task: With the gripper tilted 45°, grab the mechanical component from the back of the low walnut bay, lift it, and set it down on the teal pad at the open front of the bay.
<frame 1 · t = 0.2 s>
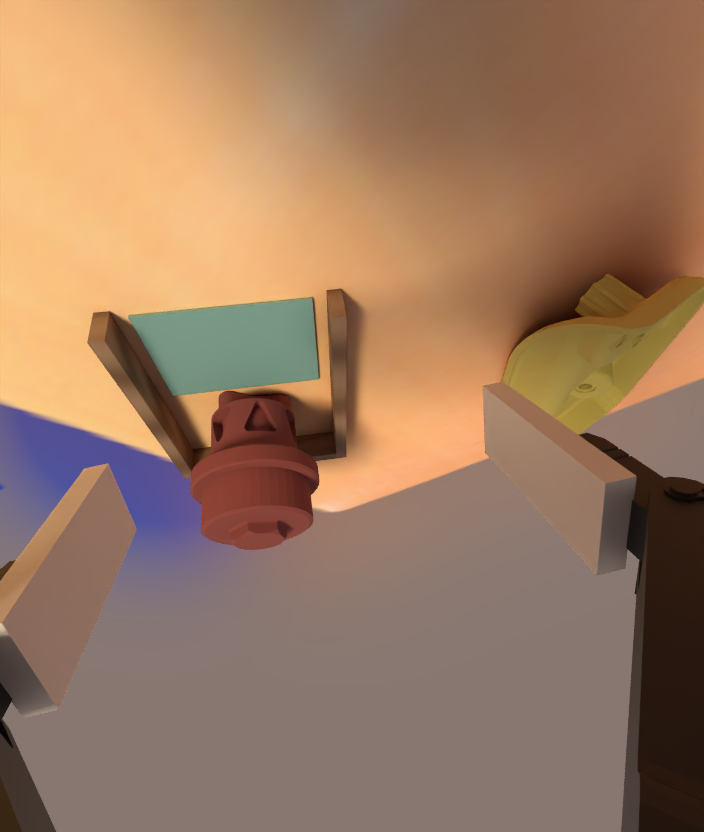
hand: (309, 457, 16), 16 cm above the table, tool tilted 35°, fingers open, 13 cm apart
mechanical component: (252, 403, 41), resting in bay
plastic component: (580, 332, 40), on the table
bay: (247, 389, 38), on the table
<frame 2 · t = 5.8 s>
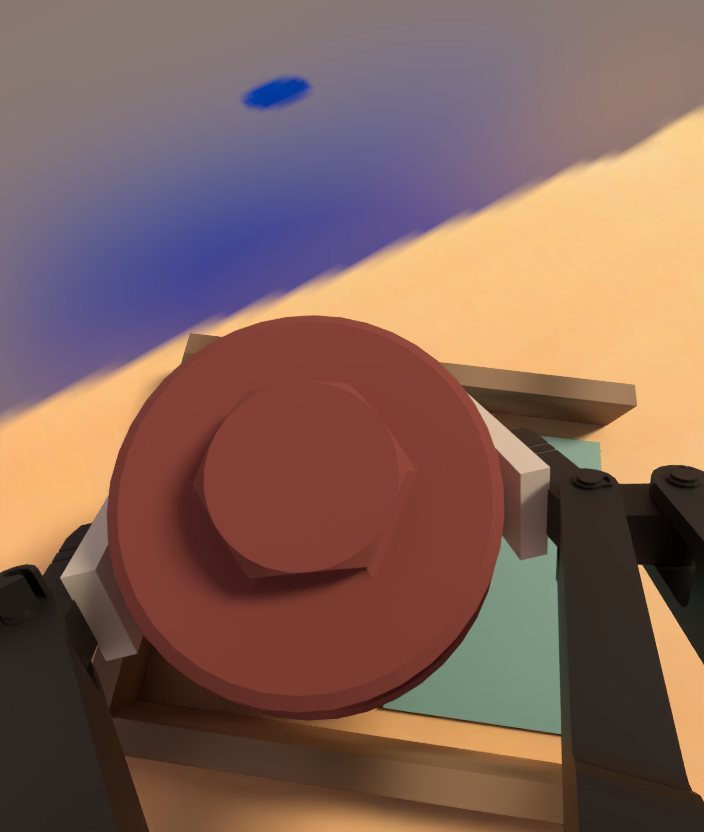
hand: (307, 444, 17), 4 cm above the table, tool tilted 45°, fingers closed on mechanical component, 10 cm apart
mechanical component: (329, 539, 20), resting in bay, touching gripper
bay: (385, 546, 20), on the table
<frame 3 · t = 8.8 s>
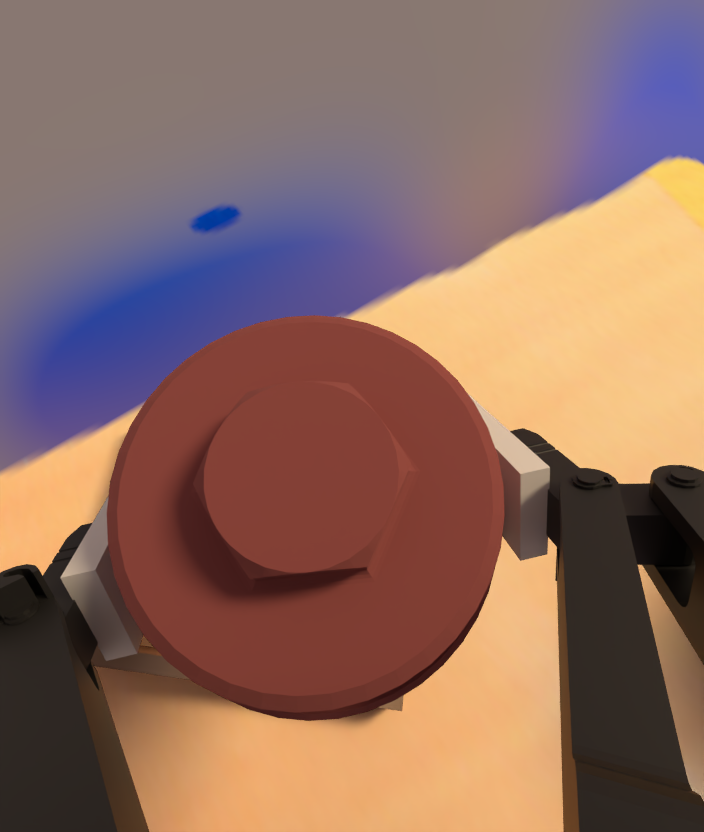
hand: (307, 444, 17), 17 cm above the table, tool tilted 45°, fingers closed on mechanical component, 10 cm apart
mechanical component: (329, 539, 20), point 12 cm above the table, touching gripper
bay: (264, 547, 32), on the table
when the fingers open (6 cm above the table, at t = 11.7 s): mechanical component drops 1 cm, resting on bay.
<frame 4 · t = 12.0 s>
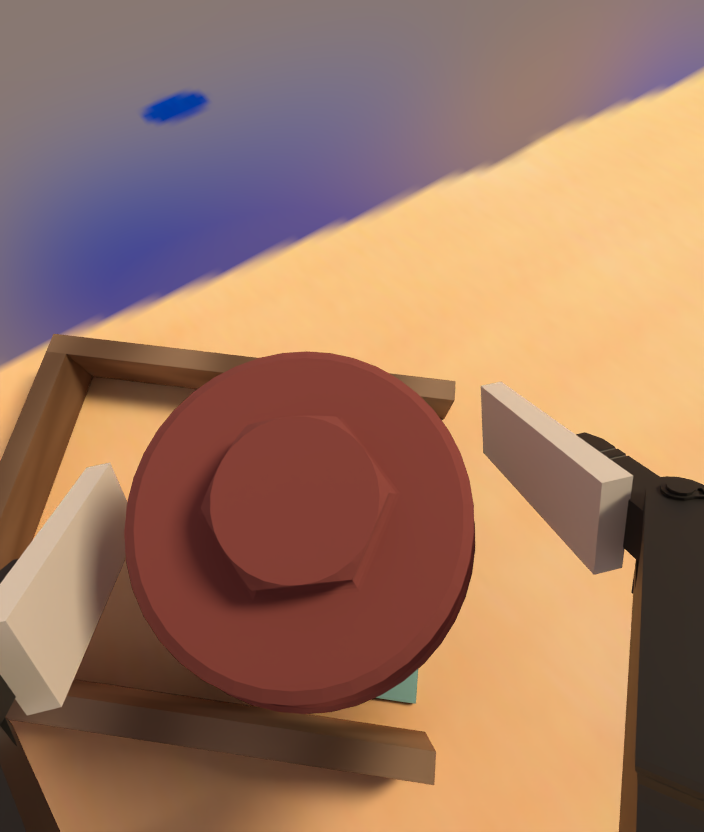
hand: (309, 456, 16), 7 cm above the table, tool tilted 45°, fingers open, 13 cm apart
mechanical component: (324, 546, 22), resting on bay
bay: (226, 529, 22), on the table
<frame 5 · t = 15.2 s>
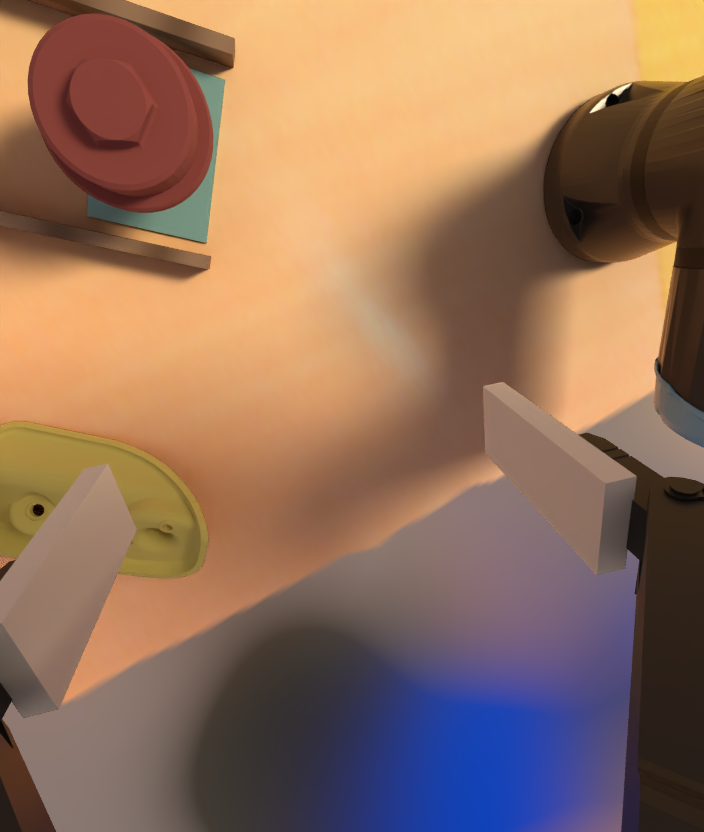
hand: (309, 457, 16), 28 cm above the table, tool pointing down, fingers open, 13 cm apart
mechanical component: (152, 151, 36), resting on bay
plastic component: (105, 497, 44), on the table
bay: (84, 129, 34), on the table
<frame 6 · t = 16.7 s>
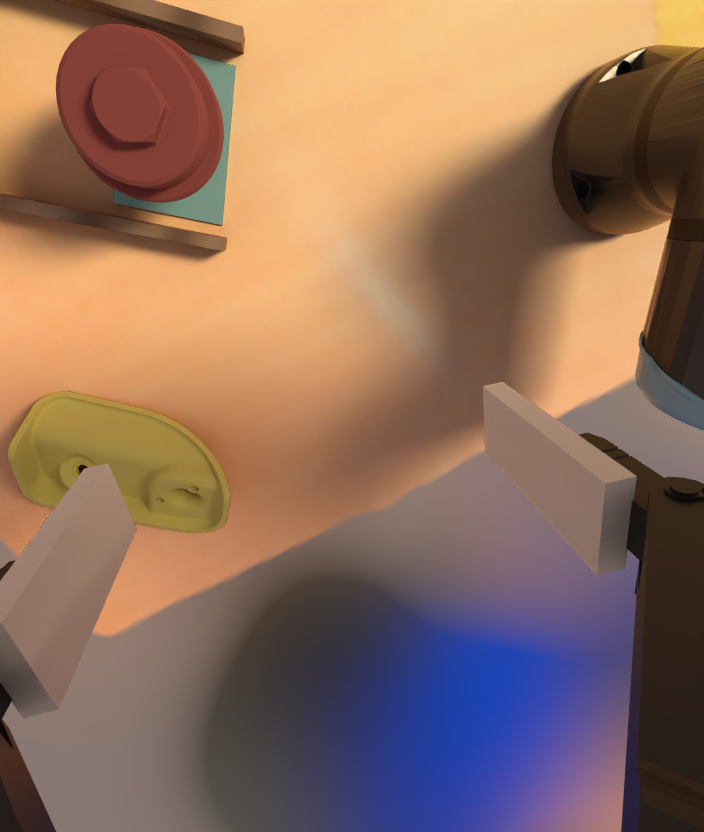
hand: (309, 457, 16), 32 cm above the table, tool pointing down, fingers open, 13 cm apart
mechanical component: (169, 139, 38), resting on bay
plastic component: (140, 460, 49), on the table
bay: (107, 121, 37), on the table
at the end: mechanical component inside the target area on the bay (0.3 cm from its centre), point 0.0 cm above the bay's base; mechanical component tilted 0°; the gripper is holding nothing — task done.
